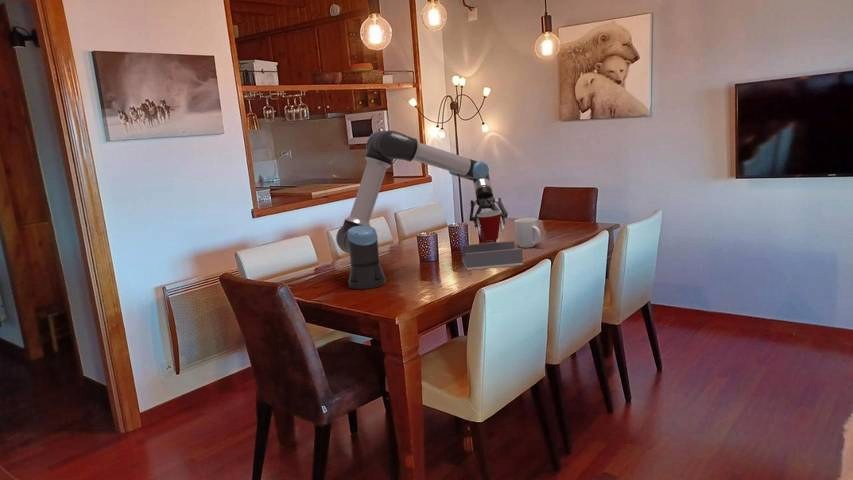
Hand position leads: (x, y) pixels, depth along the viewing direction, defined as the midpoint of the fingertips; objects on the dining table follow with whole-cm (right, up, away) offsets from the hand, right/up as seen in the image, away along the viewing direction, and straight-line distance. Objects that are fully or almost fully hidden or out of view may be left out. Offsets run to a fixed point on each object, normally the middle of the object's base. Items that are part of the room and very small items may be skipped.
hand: (491, 231), depth 253 cm
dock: (+1, -14, +6) cm, 15 cm away
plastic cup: (0, -4, +4) cm, 5 cm away
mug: (+21, -7, +31) cm, 38 cm away
